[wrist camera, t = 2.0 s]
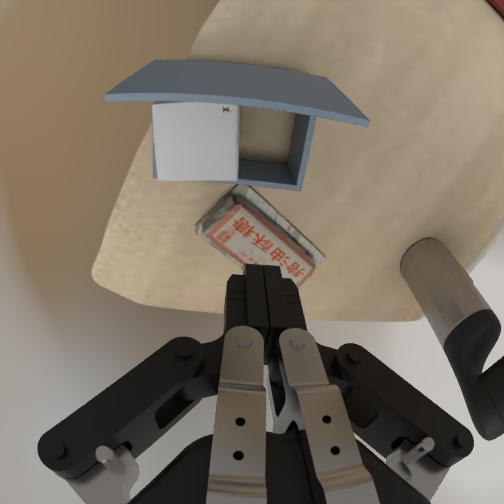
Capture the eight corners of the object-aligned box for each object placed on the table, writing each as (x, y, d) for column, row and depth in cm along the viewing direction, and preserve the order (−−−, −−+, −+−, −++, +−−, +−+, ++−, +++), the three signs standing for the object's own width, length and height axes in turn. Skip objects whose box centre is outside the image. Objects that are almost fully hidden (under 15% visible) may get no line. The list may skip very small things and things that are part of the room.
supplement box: (178, 88, 32) (150, 101, 22) (240, 87, 33) (242, 98, 22) (179, 145, 36) (155, 183, 26) (238, 145, 37) (239, 182, 26)
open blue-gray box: (307, 79, 32) (322, 83, 26) (290, 169, 39) (300, 191, 33) (171, 65, 30) (157, 66, 25) (166, 158, 37) (152, 178, 31)
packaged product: (188, 244, 40) (242, 191, 36) (192, 225, 44) (241, 177, 40) (281, 311, 47) (333, 274, 44) (278, 290, 51) (325, 254, 48)
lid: (324, 82, 26) (326, 77, 26) (367, 128, 18) (369, 120, 17) (154, 65, 24) (155, 60, 24) (105, 102, 16) (104, 94, 15)
